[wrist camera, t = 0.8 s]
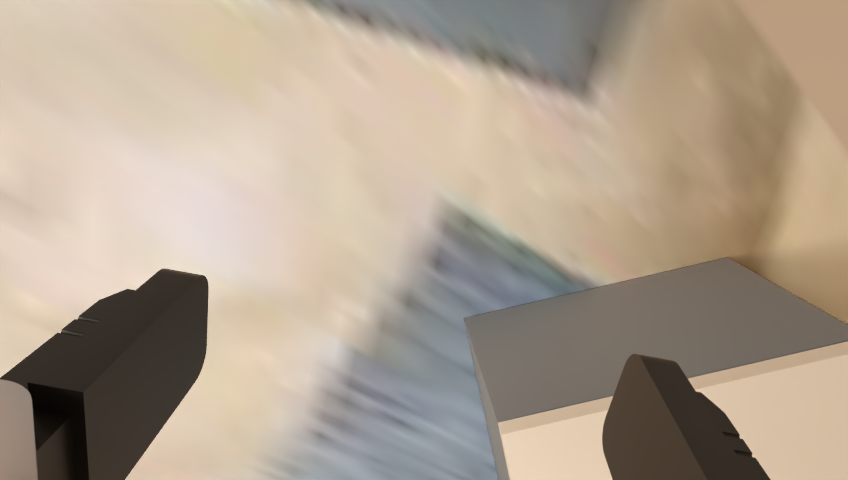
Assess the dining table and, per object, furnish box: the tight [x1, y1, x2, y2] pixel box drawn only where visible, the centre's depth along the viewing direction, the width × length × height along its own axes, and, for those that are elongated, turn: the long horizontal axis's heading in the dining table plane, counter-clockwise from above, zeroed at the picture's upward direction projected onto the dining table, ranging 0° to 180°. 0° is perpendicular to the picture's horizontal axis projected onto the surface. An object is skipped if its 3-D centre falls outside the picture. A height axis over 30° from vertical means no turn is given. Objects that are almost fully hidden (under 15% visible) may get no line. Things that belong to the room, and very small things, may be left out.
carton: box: [464, 257, 848, 480], centre depth 31 cm, size 19×16×10 cm
